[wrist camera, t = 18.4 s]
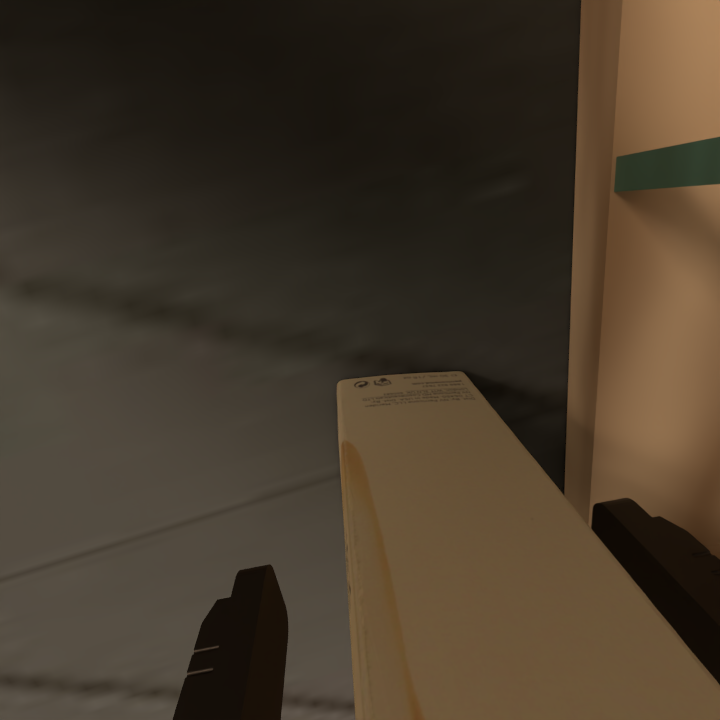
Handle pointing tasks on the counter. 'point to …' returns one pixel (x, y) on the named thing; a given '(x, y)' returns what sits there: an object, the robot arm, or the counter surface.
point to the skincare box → (487, 575)
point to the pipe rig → (647, 264)
